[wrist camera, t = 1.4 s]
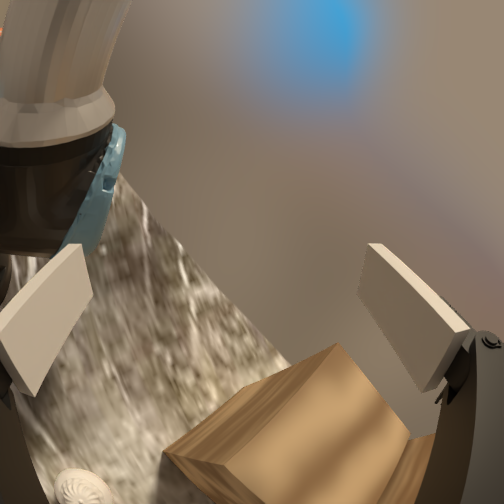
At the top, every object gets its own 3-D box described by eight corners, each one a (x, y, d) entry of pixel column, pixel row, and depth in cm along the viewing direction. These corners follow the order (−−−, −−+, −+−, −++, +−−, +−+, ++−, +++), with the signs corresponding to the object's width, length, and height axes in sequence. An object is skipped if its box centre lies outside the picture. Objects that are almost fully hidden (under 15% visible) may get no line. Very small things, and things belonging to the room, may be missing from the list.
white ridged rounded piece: (48, 474, 16) (34, 484, 11) (88, 456, 20) (84, 462, 15) (83, 519, 14) (79, 538, 10) (123, 499, 19) (129, 515, 14)
